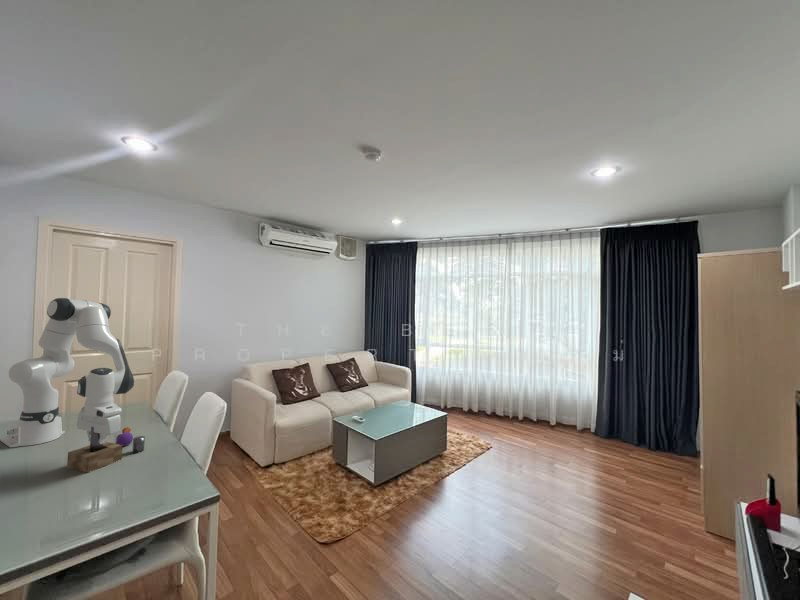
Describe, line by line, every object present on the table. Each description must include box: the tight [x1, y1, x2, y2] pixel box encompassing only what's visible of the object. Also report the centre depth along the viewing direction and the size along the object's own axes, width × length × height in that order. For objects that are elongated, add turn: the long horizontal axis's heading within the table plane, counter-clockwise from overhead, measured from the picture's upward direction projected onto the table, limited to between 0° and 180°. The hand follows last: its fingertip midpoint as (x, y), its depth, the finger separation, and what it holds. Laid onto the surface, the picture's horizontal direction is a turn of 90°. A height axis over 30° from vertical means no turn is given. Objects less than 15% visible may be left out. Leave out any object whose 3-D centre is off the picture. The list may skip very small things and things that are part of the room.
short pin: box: [132, 435, 146, 454], centre depth 146 cm, size 4×4×6 cm
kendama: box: [115, 426, 134, 447], centre depth 156 cm, size 6×6×20 cm
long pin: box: [89, 427, 103, 453], centre depth 134 cm, size 4×4×14 cm
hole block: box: [66, 441, 124, 473], centre depth 133 cm, size 12×12×6 cm
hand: (96, 442), depth 133 cm, fingers closed on long pin, 4 cm apart
